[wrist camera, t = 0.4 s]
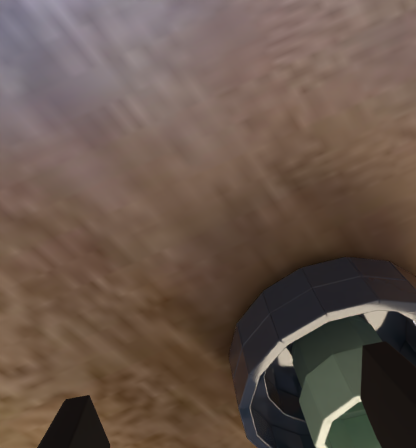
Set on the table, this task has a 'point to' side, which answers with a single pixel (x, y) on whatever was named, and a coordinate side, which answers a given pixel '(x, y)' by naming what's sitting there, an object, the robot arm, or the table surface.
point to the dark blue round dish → (305, 323)
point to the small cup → (335, 383)
